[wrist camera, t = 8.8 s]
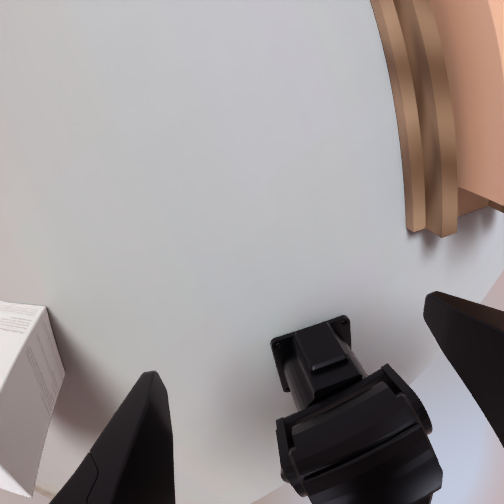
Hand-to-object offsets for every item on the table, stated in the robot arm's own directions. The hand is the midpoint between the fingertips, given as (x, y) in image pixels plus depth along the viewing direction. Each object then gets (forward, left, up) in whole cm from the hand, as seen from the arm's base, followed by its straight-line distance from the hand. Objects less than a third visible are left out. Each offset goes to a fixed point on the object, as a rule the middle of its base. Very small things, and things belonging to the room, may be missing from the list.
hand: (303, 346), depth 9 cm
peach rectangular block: (+7, -18, -11) cm, 22 cm away
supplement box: (-4, +20, -12) cm, 24 cm away
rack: (+7, -18, -12) cm, 23 cm away
